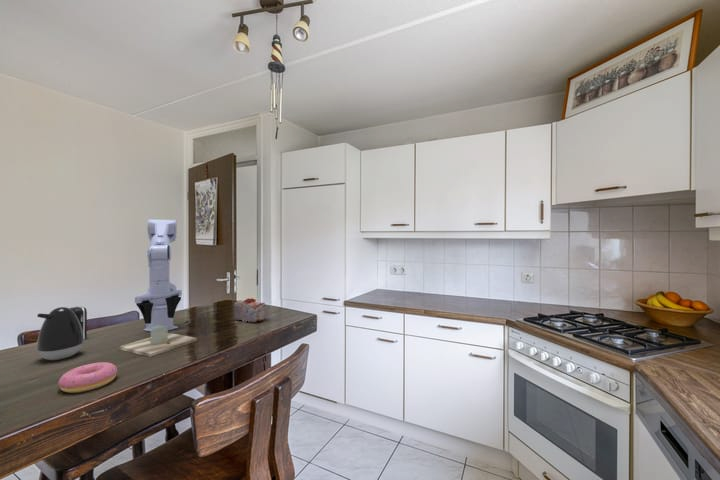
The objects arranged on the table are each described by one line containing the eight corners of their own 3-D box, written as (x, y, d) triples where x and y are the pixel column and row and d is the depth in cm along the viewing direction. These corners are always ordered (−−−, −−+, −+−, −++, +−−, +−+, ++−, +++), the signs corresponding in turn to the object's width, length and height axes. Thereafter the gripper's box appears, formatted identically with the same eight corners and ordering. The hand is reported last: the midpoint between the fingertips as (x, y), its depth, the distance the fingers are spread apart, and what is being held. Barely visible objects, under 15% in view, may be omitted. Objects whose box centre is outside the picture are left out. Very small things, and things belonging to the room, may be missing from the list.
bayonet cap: (157, 345, 99) (157, 330, 99) (146, 342, 102) (146, 327, 102) (172, 341, 103) (172, 326, 103) (161, 338, 106) (161, 324, 106)
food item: (267, 320, 135) (267, 297, 135) (255, 324, 128) (255, 301, 128) (243, 317, 140) (243, 295, 140) (230, 321, 133) (230, 298, 133)
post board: (119, 349, 99) (119, 337, 99) (167, 335, 113) (167, 324, 113) (150, 356, 92) (150, 343, 92) (197, 340, 107) (197, 329, 107)
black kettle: (27, 361, 89) (27, 309, 89) (71, 349, 99) (71, 302, 99) (48, 366, 86) (47, 312, 86) (91, 353, 95) (91, 305, 95)
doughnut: (48, 390, 72) (48, 372, 72) (102, 371, 82) (102, 356, 82) (72, 399, 68) (72, 381, 68) (127, 379, 78) (127, 363, 78)
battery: (65, 339, 109) (65, 307, 109) (78, 336, 112) (78, 305, 112) (73, 342, 106) (73, 309, 106) (87, 339, 109) (87, 307, 109)
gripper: (144, 283, 94) (144, 327, 94) (187, 278, 108) (187, 316, 108) (130, 282, 97) (130, 324, 97) (174, 277, 111) (174, 314, 111)
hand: (159, 320), depth 103 cm, fingers open, 7 cm apart
